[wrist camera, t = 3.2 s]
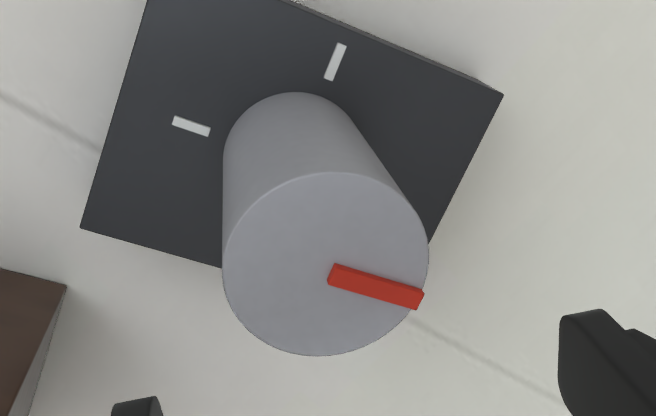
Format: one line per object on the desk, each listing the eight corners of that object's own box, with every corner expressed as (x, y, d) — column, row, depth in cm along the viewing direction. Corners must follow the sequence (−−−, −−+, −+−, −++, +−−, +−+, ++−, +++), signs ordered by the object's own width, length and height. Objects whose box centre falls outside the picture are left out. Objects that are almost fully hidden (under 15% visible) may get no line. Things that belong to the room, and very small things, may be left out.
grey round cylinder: (203, 201, 25) (192, 336, 16) (251, 69, 23) (267, 145, 15) (331, 241, 26) (381, 382, 18) (385, 121, 25) (468, 215, 16)
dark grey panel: (93, 199, 27) (78, 230, 24) (169, -51, 24) (161, -50, 21) (377, 284, 31) (392, 319, 28) (477, 79, 28) (506, 95, 25)
